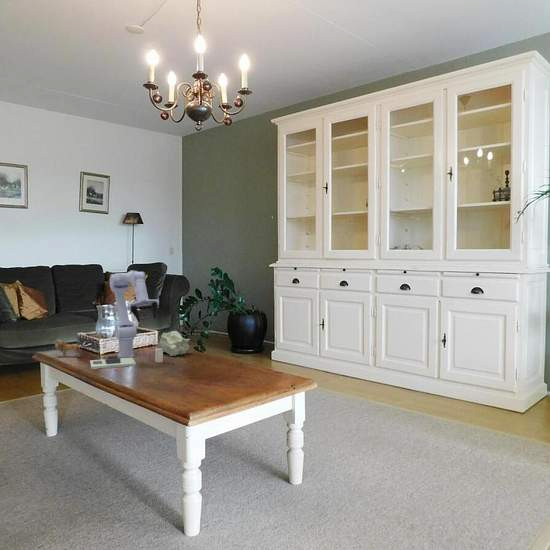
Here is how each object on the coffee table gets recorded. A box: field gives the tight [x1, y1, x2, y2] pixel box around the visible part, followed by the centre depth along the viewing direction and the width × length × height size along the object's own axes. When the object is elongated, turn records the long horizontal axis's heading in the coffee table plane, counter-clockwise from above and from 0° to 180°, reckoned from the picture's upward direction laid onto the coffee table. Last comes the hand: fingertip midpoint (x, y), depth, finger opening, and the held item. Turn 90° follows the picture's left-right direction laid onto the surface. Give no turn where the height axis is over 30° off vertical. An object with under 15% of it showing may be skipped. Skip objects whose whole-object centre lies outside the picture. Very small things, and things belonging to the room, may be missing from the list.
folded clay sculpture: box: [158, 330, 191, 357], centre depth 262 cm, size 18×13×16 cm
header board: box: [89, 355, 137, 370], centre depth 237 cm, size 15×20×3 cm
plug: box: [154, 348, 164, 363], centre depth 244 cm, size 5×3×6 cm, turn 23°
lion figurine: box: [54, 339, 85, 358], centre depth 254 cm, size 15×5×9 cm, turn 95°
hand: (146, 319), depth 233 cm, fingers open, 7 cm apart
